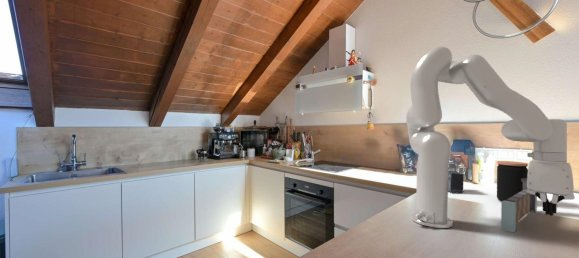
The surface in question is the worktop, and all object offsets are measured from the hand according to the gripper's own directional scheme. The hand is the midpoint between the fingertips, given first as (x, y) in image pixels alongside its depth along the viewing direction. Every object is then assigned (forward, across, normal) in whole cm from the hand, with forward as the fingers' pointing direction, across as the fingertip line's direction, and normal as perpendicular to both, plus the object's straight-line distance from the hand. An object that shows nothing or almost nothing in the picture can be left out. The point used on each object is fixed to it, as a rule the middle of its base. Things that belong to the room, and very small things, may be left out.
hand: (549, 214), depth 81 cm
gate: (+4, -8, +6) cm, 11 cm away
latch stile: (+5, -8, -10) cm, 14 cm away
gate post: (+5, -8, +22) cm, 24 cm away
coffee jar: (+6, -16, +35) cm, 39 cm away
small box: (+6, -40, +35) cm, 53 cm away
